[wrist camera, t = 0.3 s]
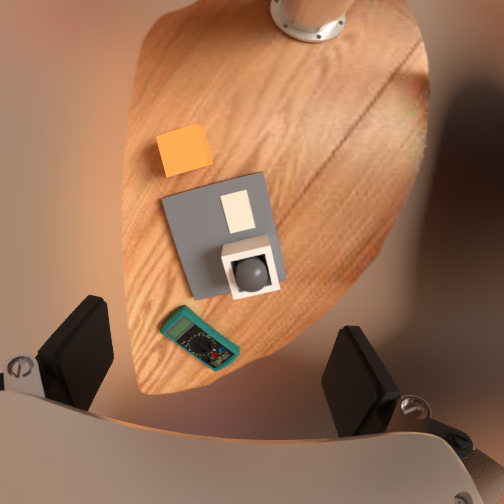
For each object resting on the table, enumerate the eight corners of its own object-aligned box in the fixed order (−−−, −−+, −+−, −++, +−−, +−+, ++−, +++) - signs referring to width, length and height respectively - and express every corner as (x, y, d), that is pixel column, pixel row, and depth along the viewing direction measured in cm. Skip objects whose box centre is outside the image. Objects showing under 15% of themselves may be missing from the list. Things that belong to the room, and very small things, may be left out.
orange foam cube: (167, 138, 40) (155, 136, 35) (203, 127, 40) (197, 123, 34) (176, 174, 42) (166, 177, 37) (213, 163, 42) (208, 165, 36)
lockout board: (163, 197, 43) (150, 205, 37) (262, 171, 42) (265, 174, 36) (196, 296, 49) (189, 317, 43) (285, 276, 48) (291, 295, 42)
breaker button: (233, 256, 42) (232, 267, 38) (262, 250, 42) (264, 260, 38) (240, 282, 44) (240, 295, 40) (268, 276, 43) (270, 288, 40)
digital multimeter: (217, 366, 56) (217, 375, 53) (161, 324, 52) (157, 333, 49) (242, 347, 54) (242, 357, 51) (184, 301, 50) (181, 310, 47)
